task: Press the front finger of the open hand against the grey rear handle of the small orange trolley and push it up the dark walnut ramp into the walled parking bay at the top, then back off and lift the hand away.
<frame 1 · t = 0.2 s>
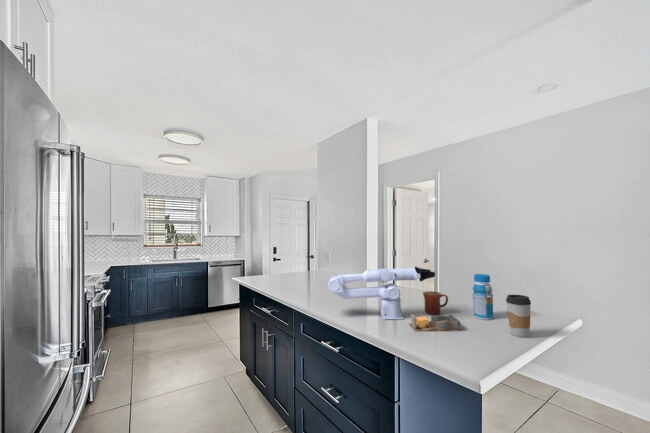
hand: (432, 273, 142), 21 cm above the counter, tool horizontal, fingers open, 7 cm apart
beverage bottle: (483, 318, 139), on the counter
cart: (419, 320, 128), point 3 cm above the counter, slide at 0.0 cm
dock: (432, 327, 128), on the counter
mug: (436, 314, 147), on the counter
coffee cup: (520, 335, 116), on the counter
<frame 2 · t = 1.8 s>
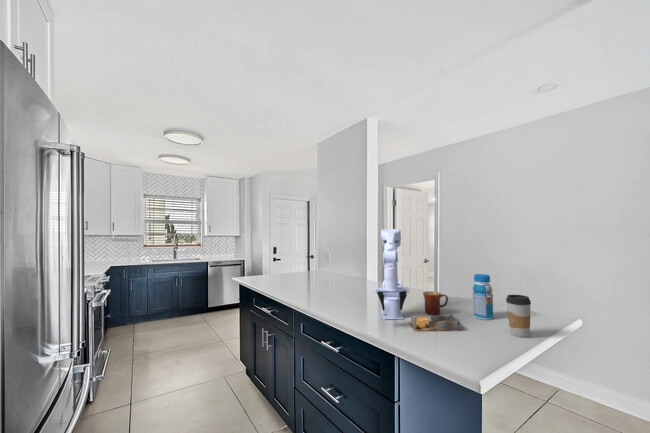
hand: (392, 309, 129), 8 cm above the counter, tool pointing down, fingers open, 7 cm apart
nothing on the counter moved.
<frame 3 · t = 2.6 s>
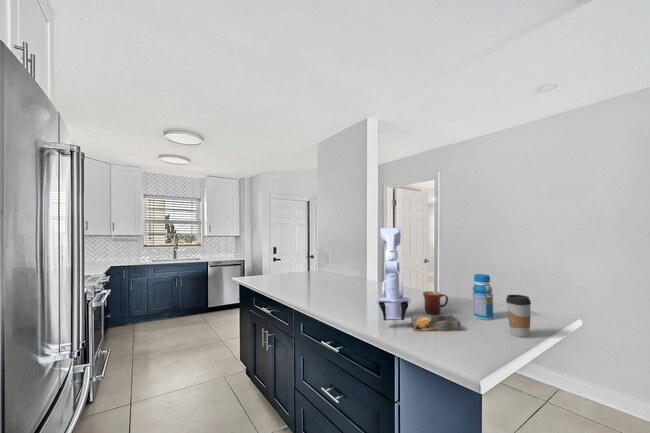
hand: (393, 319, 129), 3 cm above the counter, tool pointing down, fingers open, 7 cm apart
nothing on the counter moved.
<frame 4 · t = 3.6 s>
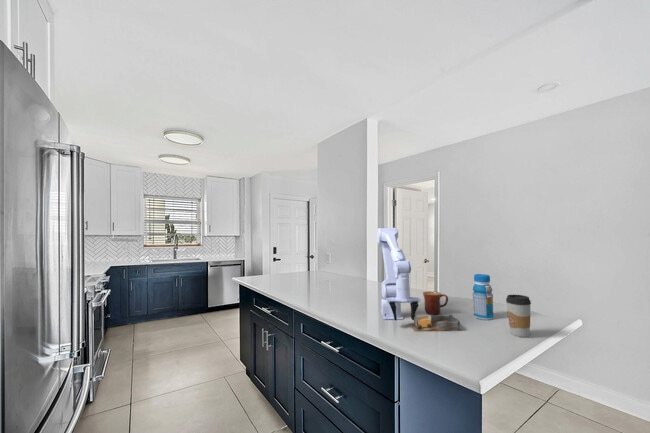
hand: (403, 319, 129), 3 cm above the counter, tool pointing down, fingers open, 7 cm apart
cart: (422, 320, 128), point 3 cm above the counter, slide at 1.0 cm, touching gripper
everything else where it was.
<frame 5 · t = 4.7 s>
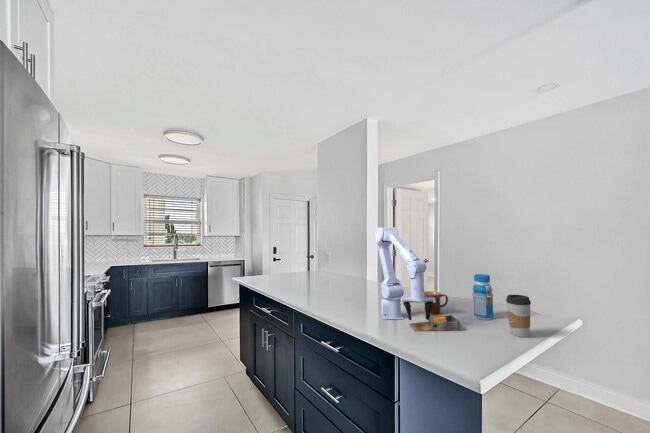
hand: (418, 319, 128), 3 cm above the counter, tool pointing down, fingers open, 7 cm apart
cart: (437, 318, 128), point 4 cm above the counter, slide at 7.5 cm, touching gripper
everything else where it was.
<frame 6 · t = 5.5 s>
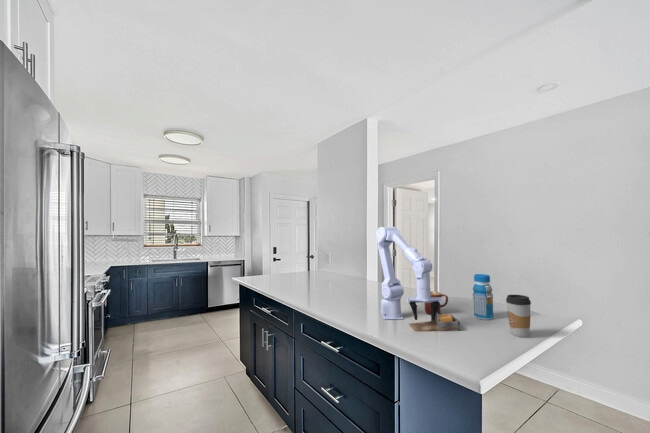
hand: (424, 319, 128), 3 cm above the counter, tool pointing down, fingers open, 7 cm apart
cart: (443, 318, 128), point 4 cm above the counter, slide at 10.2 cm, touching gripper
everything else where it was.
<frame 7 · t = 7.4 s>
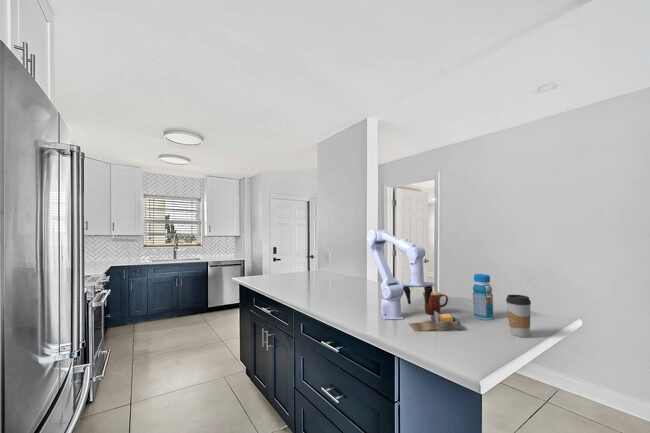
hand: (417, 303, 131), 9 cm above the counter, tool pointing down, fingers open, 7 cm apart
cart: (443, 318, 128), point 4 cm above the counter, slide at 10.3 cm
everything else where it was.
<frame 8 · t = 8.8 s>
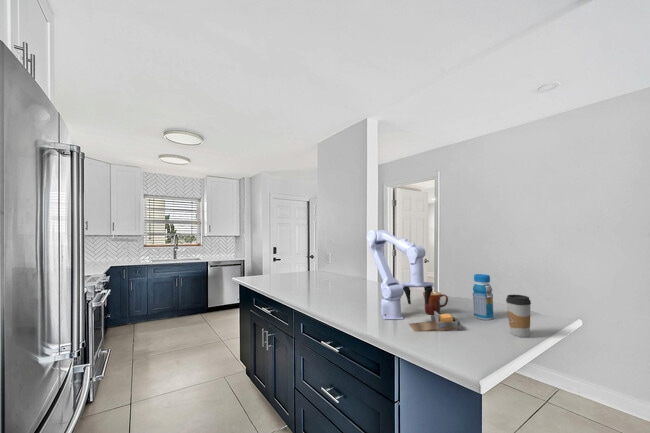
hand: (417, 303, 131), 9 cm above the counter, tool pointing down, fingers open, 7 cm apart
nothing on the counter moved.
at the end: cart slide at 10.3 cm; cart 0.9 cm from the target spot, point 3.8 cm above the counter; the gripper is holding nothing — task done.
